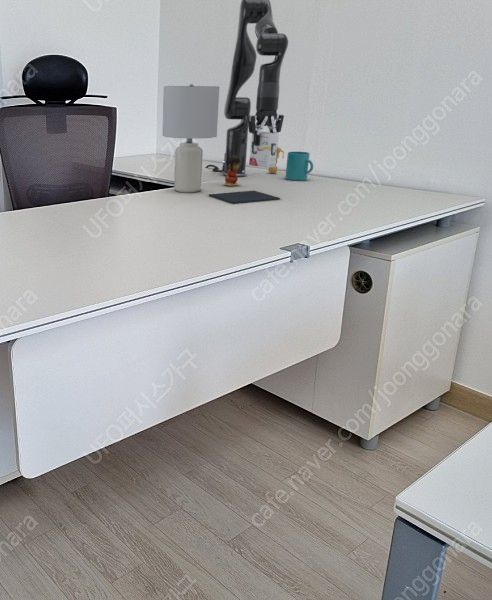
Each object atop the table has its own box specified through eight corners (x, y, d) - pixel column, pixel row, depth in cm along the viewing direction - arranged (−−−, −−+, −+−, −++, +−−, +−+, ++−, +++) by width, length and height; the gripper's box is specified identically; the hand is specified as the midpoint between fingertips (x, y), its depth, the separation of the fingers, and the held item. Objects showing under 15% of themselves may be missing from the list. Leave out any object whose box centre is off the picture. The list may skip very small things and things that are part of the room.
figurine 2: (262, 172, 273) (264, 146, 269) (270, 171, 277) (272, 145, 272) (277, 175, 267) (279, 147, 263) (285, 173, 271) (288, 146, 266)
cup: (305, 182, 248) (308, 155, 244) (281, 179, 256) (283, 152, 252) (317, 180, 254) (320, 153, 250) (292, 176, 262) (295, 150, 258)
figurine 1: (221, 186, 240) (223, 155, 236) (225, 183, 245) (226, 154, 240) (237, 187, 238) (239, 156, 233) (240, 184, 242) (242, 155, 238)
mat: (209, 195, 220) (209, 194, 220) (254, 192, 227) (254, 190, 227) (232, 203, 206) (232, 202, 206) (279, 199, 214) (280, 197, 213)
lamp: (191, 184, 243) (195, 83, 229) (224, 192, 227) (231, 84, 213) (151, 189, 233) (152, 83, 219) (183, 197, 217) (187, 84, 203)
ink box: (248, 165, 217) (250, 132, 213) (257, 164, 220) (259, 131, 216) (267, 168, 211) (270, 134, 207) (276, 167, 214) (279, 133, 210)
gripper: (278, 95, 213) (273, 143, 219) (244, 95, 208) (241, 145, 214) (291, 95, 207) (286, 145, 213) (257, 96, 201) (253, 147, 207)
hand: (263, 145), depth 213 cm, fingers closed on ink box, 5 cm apart
